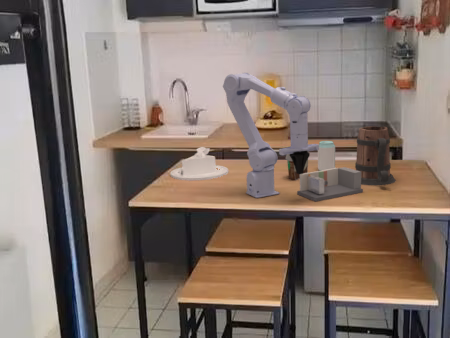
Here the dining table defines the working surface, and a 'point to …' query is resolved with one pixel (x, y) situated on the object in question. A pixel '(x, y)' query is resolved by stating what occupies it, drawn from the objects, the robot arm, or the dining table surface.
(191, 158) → the dish
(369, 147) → the tankard
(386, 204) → the dining table surface
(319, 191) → the grey rectangular block
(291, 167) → the food container
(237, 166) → the dining table surface
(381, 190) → the dining table surface
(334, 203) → the dining table surface
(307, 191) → the base
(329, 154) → the can
